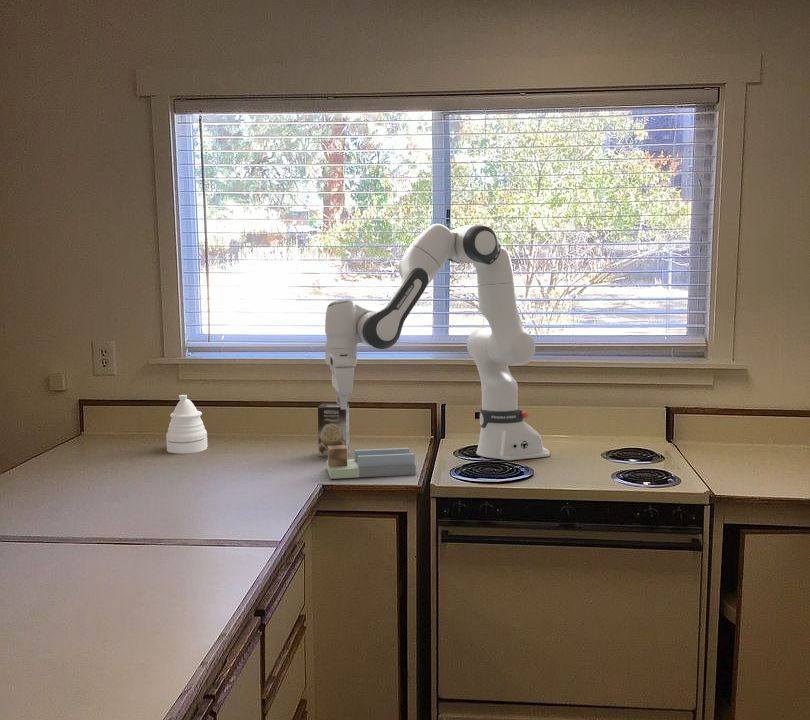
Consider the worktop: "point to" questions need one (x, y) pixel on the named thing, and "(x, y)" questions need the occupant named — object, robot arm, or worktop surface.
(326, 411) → the coffee box
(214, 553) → the worktop surface
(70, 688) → the worktop surface
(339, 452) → the walnut block
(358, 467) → the channel
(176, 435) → the honey pot
